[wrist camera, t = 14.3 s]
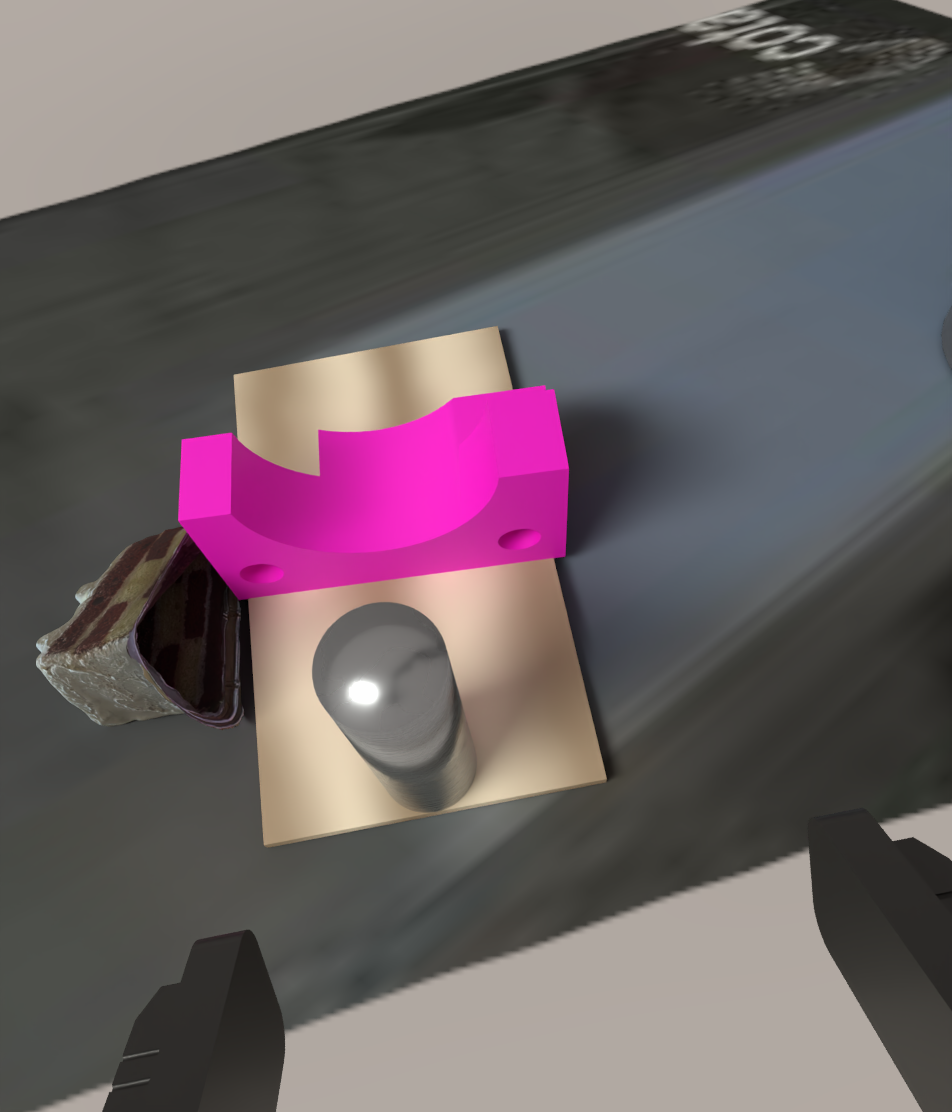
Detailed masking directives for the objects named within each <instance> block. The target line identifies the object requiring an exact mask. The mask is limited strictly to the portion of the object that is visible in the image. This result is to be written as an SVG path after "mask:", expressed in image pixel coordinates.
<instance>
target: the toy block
mask: <svg viewBox="0 0 952 1112" xmlns="http://www.w3.org/2000/svg"><path fill="white" fill-rule="evenodd" d="M318 443H319V468H320V476H316V475H310V474H305V473H301V472H297V471H293V470H290V469H287V468H284V467H281V466H279V465H276V464H274V463H272V462H269V461H267V460H265V459H263V458H262V457H260V456H258V455H257V454H255V453H253V452H252V451H251V450H249V449H248V448H246V447H245V446H244V445H243V444H242V443H241V442H240V441H239V440H238V439H237V438H236V437H235V436H234V435H233V434H232V433H227V434H220V435H212V436H205V437H198V438H190V439H183V440H182V450H181V472H180V495H179V518H178V521H179V522H180V524H181V525H182V526H183V528H184V529H185V530H186V532H187V533H188V534H189V536H190V537H191V538H192V539H193V541H194V542H195V543H196V545H197V546H198V547H199V549H200V550H201V551H202V552H203V554H204V555H205V556H206V558H207V559H208V560H209V562H210V563H211V564H212V566H213V567H214V568H215V569H216V571H217V572H218V573H219V575H220V576H221V577H222V579H223V580H224V581H225V583H226V584H227V585H228V586H229V588H230V589H231V590H232V592H233V593H234V594H235V596H236V597H237V598H238V599H239V600H243V599H249V598H257V597H264V596H272V595H279V594H287V593H294V592H302V591H309V590H317V589H325V588H332V587H340V586H347V585H355V584H362V583H370V582H377V581H385V580H392V579H400V578H407V577H415V576H422V575H430V574H437V573H445V572H452V571H460V570H467V569H475V568H482V567H490V566H497V565H505V564H513V563H520V562H528V561H535V560H543V559H550V558H559V557H565V555H566V530H567V506H568V481H569V466H568V460H567V455H566V450H565V445H564V439H563V434H562V429H561V423H560V418H559V413H558V408H557V402H556V397H555V392H554V389H552V390H546V388H545V386H537V387H530V388H522V389H515V390H508V391H500V392H493V393H486V394H478V395H471V396H463V397H456V398H453V399H451V400H450V401H449V402H447V403H446V404H445V405H443V406H442V407H440V408H439V409H437V410H435V411H433V412H432V413H430V414H428V415H426V416H424V417H421V418H419V419H417V420H414V421H411V422H408V423H405V424H402V425H398V426H395V427H390V428H385V429H380V430H372V431H361V432H338V431H326V430H318Z"/></svg>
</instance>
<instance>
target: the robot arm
mask: <svg viewBox="0 0 952 1112" xmlns="http://www.w3.org/2000/svg"><path fill="white" fill-rule="evenodd" d="M941 336H942V345H943V351H944V354H945V356H946V359H947V362H948V364H949V366H950V368H951V369H952V306H951V308H950V310H949V312H948V314H947V316H946V318H945V320H944V323H943V329H942V334H941ZM808 841H809V854H810V866H811V879H812V892H813V903H814V910H815V915H816V919H817V923H818V926H819V929H820V932H821V935H822V938H823V940H824V943H825V945H826V947H827V949H828V951H829V953H830V955H831V956H832V958H833V960H834V961H835V963H836V965H837V966H838V968H839V970H840V971H841V973H842V975H843V977H844V978H845V980H846V982H847V984H848V985H849V987H850V988H851V990H852V992H853V994H854V995H855V997H856V999H857V1000H858V1002H859V1004H860V1006H861V1007H862V1009H863V1011H864V1012H865V1014H866V1016H867V1018H868V1019H869V1021H870V1022H871V1024H872V1026H873V1028H874V1029H875V1031H876V1033H877V1034H878V1036H879V1038H880V1040H881V1041H882V1043H883V1045H884V1046H885V1048H886V1050H887V1051H888V1053H889V1055H890V1056H891V1058H892V1060H893V1061H894V1063H895V1065H896V1067H897V1068H898V1070H899V1072H900V1074H901V1075H902V1077H903V1079H904V1080H905V1082H906V1084H907V1085H908V1087H909V1089H910V1091H911V1092H912V1094H913V1096H914V1097H915V1099H916V1101H917V1103H918V1104H919V1106H920V1108H921V1109H922V1111H923V1112H952V861H951V860H950V859H949V858H947V857H946V856H944V855H942V854H941V853H939V852H937V851H936V850H934V849H932V848H930V847H929V846H927V845H926V844H924V843H922V842H920V841H919V840H917V839H915V838H913V837H912V838H907V839H902V840H897V841H892V840H891V839H890V838H889V836H888V835H887V834H886V833H885V831H884V830H883V829H882V828H881V826H880V825H879V824H878V823H877V821H876V820H875V819H874V818H873V816H872V815H871V814H870V813H869V812H868V811H867V810H866V809H863V808H859V809H854V810H849V811H844V812H839V813H834V814H829V815H824V816H819V817H814V818H811V819H810V820H809V822H808ZM284 1056H285V1033H284V1024H283V1018H282V1013H281V1010H280V1006H279V1004H278V1001H277V998H276V995H275V992H274V989H273V986H272V983H271V980H270V977H269V974H268V972H267V969H266V966H265V963H264V960H263V957H262V954H261V951H260V948H259V945H258V942H257V940H256V937H255V935H254V934H253V932H252V931H250V930H244V931H239V932H234V933H229V934H224V935H219V936H214V937H209V938H204V939H199V940H197V941H196V942H195V943H194V944H193V946H192V949H191V952H190V955H189V958H188V961H187V964H186V967H185V970H184V974H183V977H182V980H181V983H177V984H172V985H167V986H162V987H161V988H160V989H159V990H158V991H157V993H156V994H155V995H154V997H153V998H152V999H151V1001H150V1002H149V1003H148V1004H147V1006H146V1007H145V1008H144V1010H143V1011H142V1012H141V1014H140V1015H139V1016H138V1017H137V1019H136V1020H135V1023H134V1026H133V1028H132V1031H131V1034H130V1037H129V1039H128V1042H127V1045H126V1048H125V1050H124V1053H123V1062H120V1064H119V1067H118V1070H117V1072H116V1075H115V1078H114V1081H113V1084H112V1087H113V1090H112V1092H109V1095H108V1097H107V1100H106V1103H105V1106H104V1108H103V1111H102V1112H276V1107H277V1101H278V1095H279V1089H280V1083H281V1076H282V1070H283V1064H284Z"/></svg>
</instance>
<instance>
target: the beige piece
mask: <svg viewBox="0 0 952 1112" xmlns="http://www.w3.org/2000/svg"><path fill="white" fill-rule="evenodd" d="M234 385H235V401H236V416H237V432H238V440H239V441H240V442H241V443H242V444H243V445H244V446H245V447H246V448H248V449H249V450H251V451H252V452H253V453H255V454H257V455H258V456H260V457H262V458H263V459H265V460H267V461H269V462H272V463H274V464H276V465H279V466H281V467H284V468H287V469H290V470H293V471H297V472H301V473H305V474H310V475H316V476H320V468H319V443H318V430H326V431H338V432H361V431H372V430H380V429H385V428H390V427H395V426H398V425H402V424H405V423H408V422H411V421H414V420H417V419H419V418H421V417H424V416H426V415H428V414H430V413H432V412H433V411H435V410H437V409H439V408H440V407H442V406H443V405H445V404H446V403H447V402H449V401H450V400H451V399H453V398H456V397H463V396H471V395H478V394H486V393H493V392H500V391H508V390H513V388H512V384H511V380H510V375H509V371H508V367H507V363H506V359H505V355H504V351H503V346H502V342H501V338H500V334H499V330H498V326H495V327H490V328H485V329H479V330H474V331H468V332H463V333H458V334H452V335H447V336H441V337H436V338H431V339H425V340H420V341H414V342H409V343H404V344H398V345H393V346H387V347H382V348H377V349H371V350H366V351H361V352H355V353H350V354H344V355H339V356H334V357H328V358H323V359H317V360H312V361H307V362H301V363H296V364H290V365H285V366H280V367H274V368H269V369H263V370H258V371H253V372H247V373H242V374H236V375H234ZM248 604H249V620H250V636H251V651H252V667H253V682H254V698H255V714H256V729H257V745H258V761H259V776H260V792H261V808H262V823H263V839H264V846H266V847H268V848H269V847H274V846H279V845H284V844H289V843H295V842H300V841H305V840H310V839H315V838H320V837H326V836H331V835H336V834H341V833H346V832H351V831H357V830H362V829H367V828H372V827H377V826H383V825H388V824H393V823H398V822H403V821H408V820H414V819H419V818H424V817H429V816H434V815H439V814H445V813H450V812H455V811H460V810H465V809H470V808H476V807H481V806H486V805H491V804H496V803H501V802H507V801H512V800H517V799H522V798H527V797H533V796H538V795H543V794H548V793H553V792H558V791H564V790H569V789H574V788H579V787H584V786H589V785H595V784H600V783H605V782H606V780H607V778H606V773H605V769H604V765H603V761H602V757H601V753H600V749H599V744H598V740H597V736H596V732H595V728H594V724H593V720H592V715H591V711H590V707H589V703H588V699H587V695H586V690H585V686H584V682H583V678H582V674H581V670H580V666H579V661H578V657H577V653H576V649H575V645H574V641H573V637H572V632H571V628H570V624H569V620H568V616H567V612H566V608H565V603H564V599H563V595H562V591H561V587H560V583H559V579H558V574H557V570H556V566H555V562H554V558H550V559H543V560H535V561H528V562H520V563H513V564H505V565H497V566H490V567H482V568H475V569H467V570H460V571H452V572H445V573H437V574H430V575H422V576H415V577H407V578H400V579H392V580H385V581H377V582H370V583H362V584H355V585H347V586H340V587H332V588H325V589H317V590H309V591H302V592H294V593H287V594H279V595H272V596H264V597H257V598H249V599H248Z"/></svg>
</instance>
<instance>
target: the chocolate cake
mask: <svg viewBox="0 0 952 1112" xmlns="http://www.w3.org/2000/svg"><path fill="white" fill-rule="evenodd" d="M75 597H76V599H77V600H78V601H79V602H80V605H79V607H78V608H77V610H76V612H75V614H74V616H73V617H72V619H71V620H70V621H68V622H67V623H66V624H65V625H63V626H62V627H60V628H58V629H56V630H54V631H52V632H51V633H48V634H46V635H45V636H43V637H41V638H40V639H39V640H38V642H37V648H38V649H39V650H40V651H41V652H42V653H41V654H40V655H39V656H38V658H37V661H36V665H37V667H38V668H39V669H40V670H41V671H42V672H43V674H44V675H45V676H46V678H47V679H48V680H49V682H50V683H51V684H52V685H53V686H54V687H55V688H56V689H57V690H58V691H59V692H60V693H61V694H62V695H63V697H65V698H66V699H67V700H68V701H69V702H70V703H72V704H73V705H75V706H77V707H78V708H79V709H81V710H82V711H84V712H85V713H86V714H87V715H88V716H89V717H90V718H91V719H92V720H93V721H94V722H96V723H98V724H100V725H104V726H115V725H122V724H125V723H128V722H131V721H134V720H139V721H144V720H148V719H152V718H158V717H162V716H166V715H172V714H184V713H185V714H187V715H188V716H189V717H191V718H193V719H195V720H197V721H199V722H200V723H203V724H205V725H207V726H210V727H214V728H218V729H221V730H223V729H229V728H230V727H232V728H233V727H236V726H238V724H239V721H240V720H242V718H241V717H242V716H244V714H243V713H244V709H243V706H242V703H241V681H240V641H239V628H240V620H241V616H240V614H241V608H240V604H239V601H238V598H237V597H236V596H235V594H234V593H233V592H232V590H231V589H230V588H229V586H228V585H227V584H226V583H225V581H224V580H223V579H222V577H221V576H220V575H219V573H218V572H217V571H216V569H215V568H214V567H213V566H212V564H211V563H210V562H209V560H208V559H207V558H206V556H205V555H204V554H203V552H202V551H201V550H200V549H199V547H198V546H197V545H196V543H195V542H194V541H193V539H192V538H191V537H190V536H189V534H188V533H187V532H186V530H185V529H184V528H183V527H178V528H175V529H169V530H165V531H164V532H163V533H161V534H158V535H154V536H150V537H147V538H145V539H143V540H141V541H138V542H136V543H134V544H132V545H130V546H128V547H127V548H126V549H125V550H123V551H122V552H121V554H119V555H118V556H117V558H116V559H115V560H114V561H113V562H112V563H111V565H110V567H109V568H108V570H107V571H106V572H105V573H104V574H103V575H102V576H101V577H100V578H99V579H98V580H97V581H95V582H92V583H88V584H85V585H83V586H82V587H81V588H80V589H79V590H78V591H77V593H76V596H75Z"/></svg>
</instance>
